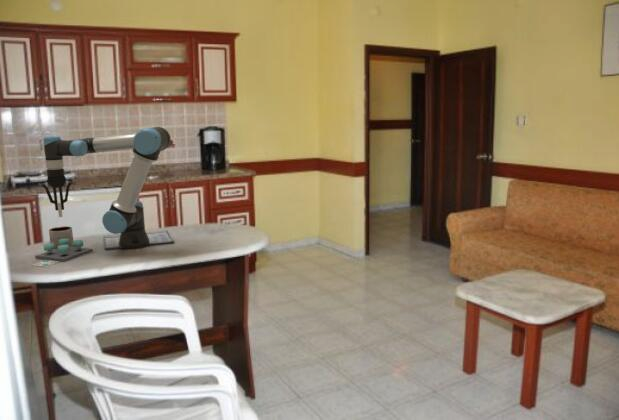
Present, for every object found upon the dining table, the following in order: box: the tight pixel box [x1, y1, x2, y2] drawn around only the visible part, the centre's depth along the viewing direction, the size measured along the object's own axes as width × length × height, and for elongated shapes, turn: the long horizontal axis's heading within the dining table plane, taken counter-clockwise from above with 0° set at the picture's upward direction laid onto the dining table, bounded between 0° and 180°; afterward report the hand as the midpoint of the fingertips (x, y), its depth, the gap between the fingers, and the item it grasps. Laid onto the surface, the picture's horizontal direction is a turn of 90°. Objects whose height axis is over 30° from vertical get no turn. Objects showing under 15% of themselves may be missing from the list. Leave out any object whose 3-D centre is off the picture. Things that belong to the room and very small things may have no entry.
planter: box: [48, 226, 74, 249], centre depth 266 cm, size 11×11×10 cm
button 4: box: [43, 242, 55, 253], centre depth 248 cm, size 5×5×4 cm
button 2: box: [58, 244, 69, 254], centre depth 245 cm, size 5×5×4 cm
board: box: [34, 246, 94, 263], centre depth 251 cm, size 18×18×2 cm
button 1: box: [72, 239, 84, 249], centre depth 253 cm, size 5×5×4 cm
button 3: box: [59, 238, 69, 245], centre depth 256 cm, size 5×5×4 cm
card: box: [31, 260, 60, 268], centre depth 238 cm, size 8×8×1 cm
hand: (60, 216), depth 254 cm, fingers closed
